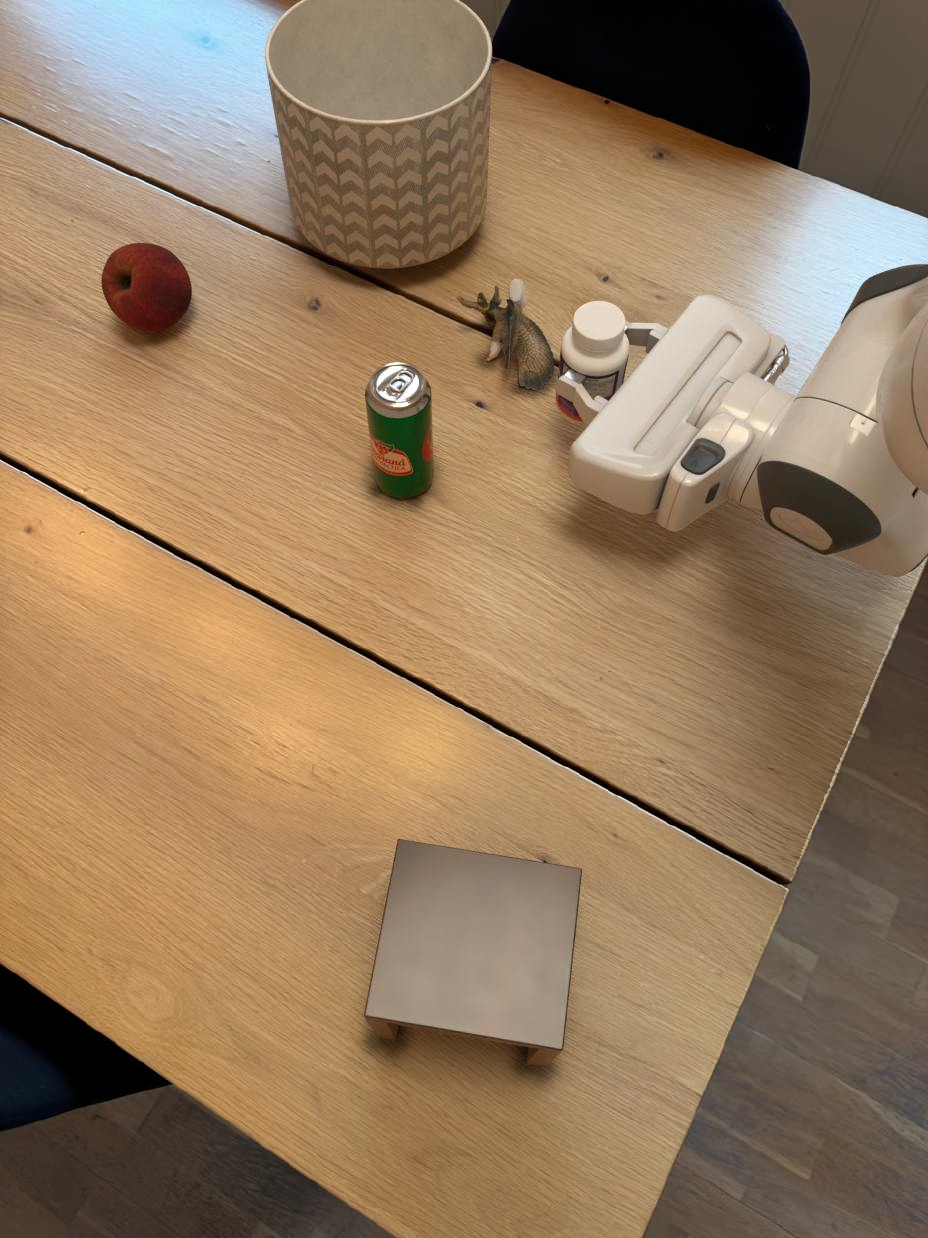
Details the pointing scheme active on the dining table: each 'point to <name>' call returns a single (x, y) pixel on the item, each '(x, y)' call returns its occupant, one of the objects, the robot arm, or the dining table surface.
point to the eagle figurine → (516, 335)
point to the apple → (146, 286)
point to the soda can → (400, 429)
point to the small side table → (476, 948)
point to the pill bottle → (594, 353)
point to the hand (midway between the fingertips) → (583, 352)
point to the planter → (383, 125)
